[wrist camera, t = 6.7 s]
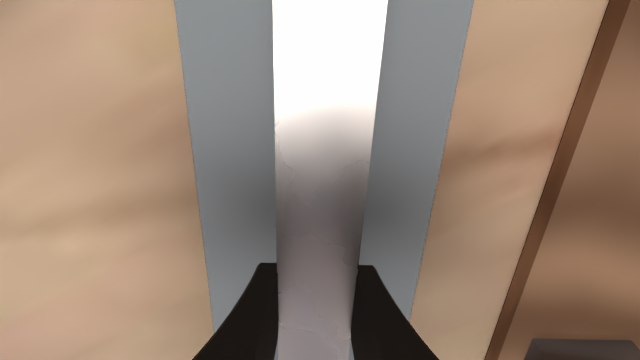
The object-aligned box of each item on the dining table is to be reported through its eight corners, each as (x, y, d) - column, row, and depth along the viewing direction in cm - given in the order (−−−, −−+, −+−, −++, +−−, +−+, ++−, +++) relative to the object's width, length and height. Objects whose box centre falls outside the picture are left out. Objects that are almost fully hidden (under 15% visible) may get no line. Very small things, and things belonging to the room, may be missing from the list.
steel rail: (332, 438, 20) (334, 497, 18) (282, 438, 20) (278, 496, 18) (387, -142, 9) (411, -180, 7) (278, -149, 9) (267, -188, 7)
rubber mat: (391, 392, 24) (392, 401, 23) (224, 389, 23) (222, 399, 23) (499, -165, 12) (508, -171, 11) (158, -184, 11) (151, -192, 11)
